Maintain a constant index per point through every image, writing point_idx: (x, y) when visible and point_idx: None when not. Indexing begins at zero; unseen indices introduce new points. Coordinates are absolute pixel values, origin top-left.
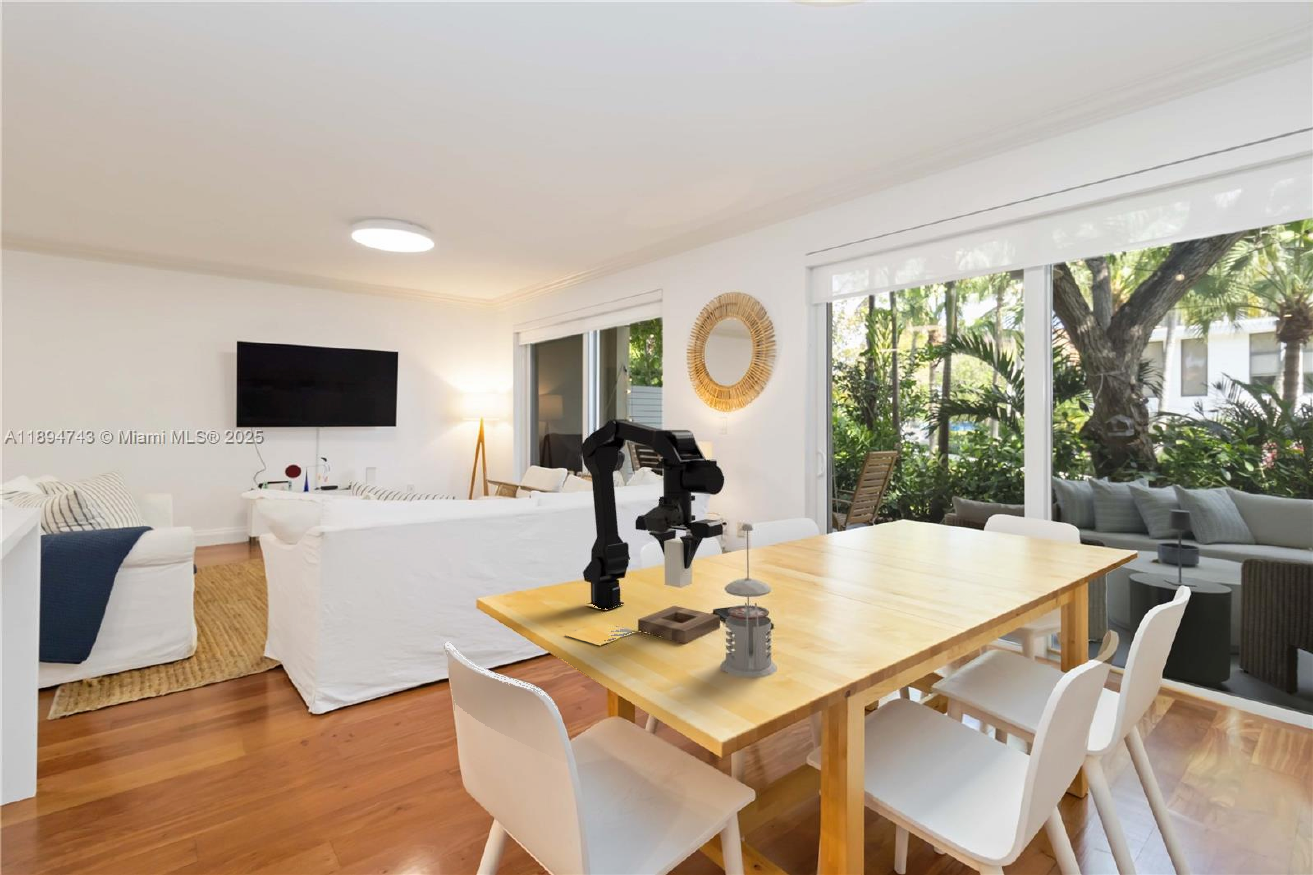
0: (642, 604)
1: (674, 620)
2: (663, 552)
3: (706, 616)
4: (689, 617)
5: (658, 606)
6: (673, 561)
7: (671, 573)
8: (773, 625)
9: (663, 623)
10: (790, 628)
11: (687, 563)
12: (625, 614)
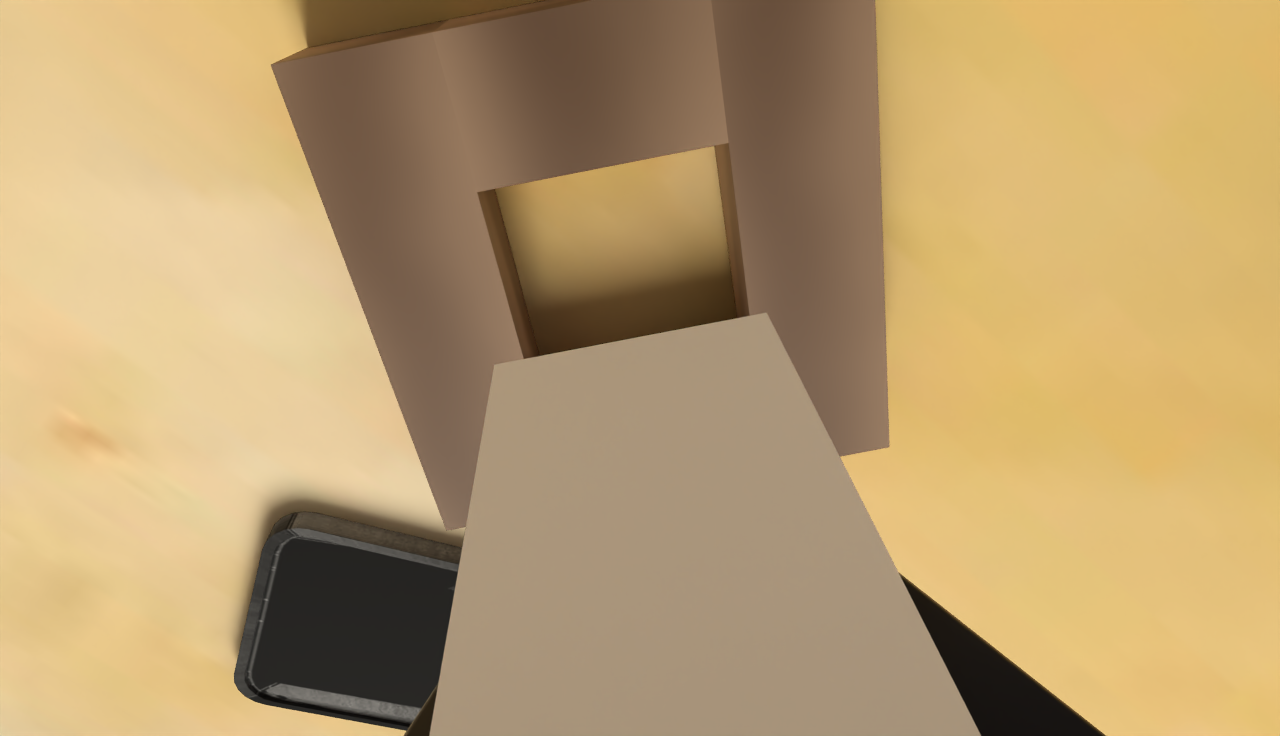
0: (1245, 415)
1: (741, 309)
2: (1067, 723)
3: None
4: None
5: (1111, 465)
6: (629, 598)
7: (662, 432)
8: (242, 690)
9: (588, 57)
10: (195, 729)
11: (427, 722)
12: (1226, 169)
